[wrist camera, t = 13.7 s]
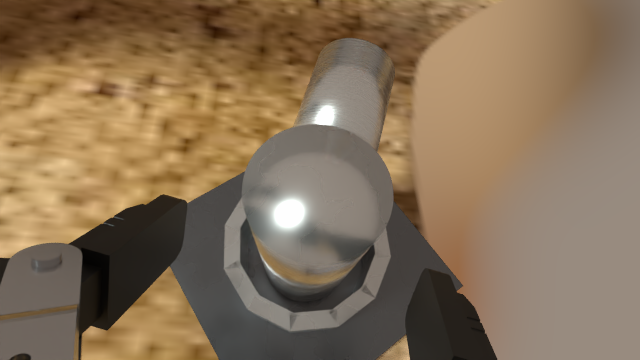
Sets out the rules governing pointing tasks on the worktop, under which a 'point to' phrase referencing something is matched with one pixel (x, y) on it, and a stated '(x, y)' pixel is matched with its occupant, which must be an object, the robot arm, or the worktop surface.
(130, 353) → the worktop surface
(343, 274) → the duct elbow
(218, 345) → the duct collar
